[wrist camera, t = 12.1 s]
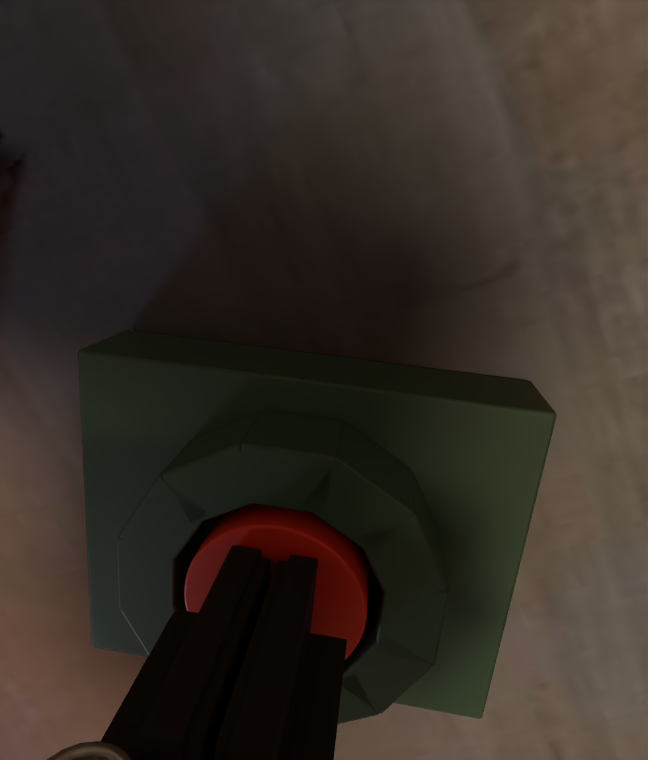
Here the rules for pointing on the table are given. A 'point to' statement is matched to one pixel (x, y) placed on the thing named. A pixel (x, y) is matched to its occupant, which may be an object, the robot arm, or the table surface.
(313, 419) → the button block
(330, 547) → the button
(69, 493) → the table surface
